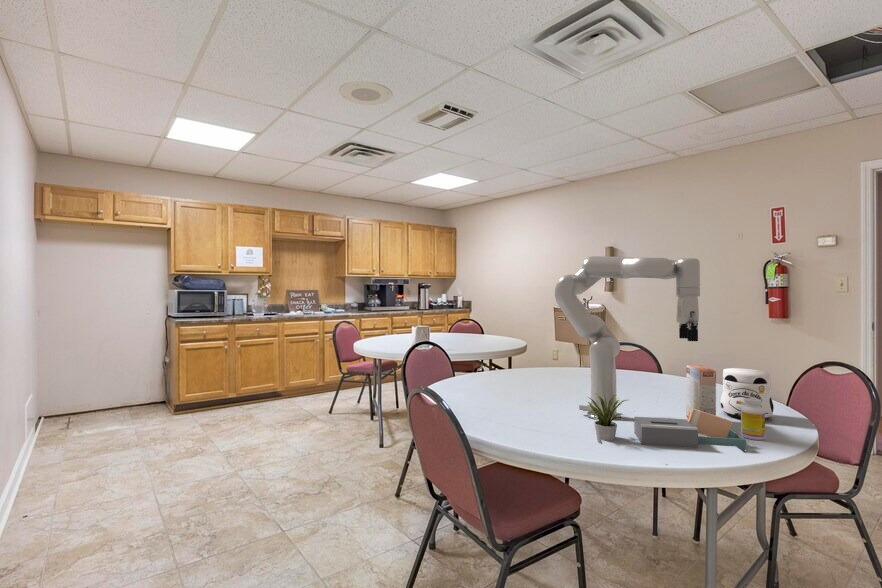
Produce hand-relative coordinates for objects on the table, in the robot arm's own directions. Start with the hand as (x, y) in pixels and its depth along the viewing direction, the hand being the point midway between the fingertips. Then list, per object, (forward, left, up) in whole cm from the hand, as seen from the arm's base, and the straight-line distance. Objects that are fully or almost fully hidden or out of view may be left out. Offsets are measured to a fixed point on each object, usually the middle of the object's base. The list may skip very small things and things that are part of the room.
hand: (688, 339), depth 160 cm
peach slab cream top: (+8, -14, -28) cm, 33 cm away
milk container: (+27, +22, -32) cm, 48 cm away
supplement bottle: (+18, -6, -32) cm, 38 cm away
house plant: (-30, -21, -32) cm, 49 cm away
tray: (+3, -14, -32) cm, 35 cm away
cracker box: (+7, +10, -32) cm, 35 cm away
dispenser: (-13, -20, -32) cm, 40 cm away
